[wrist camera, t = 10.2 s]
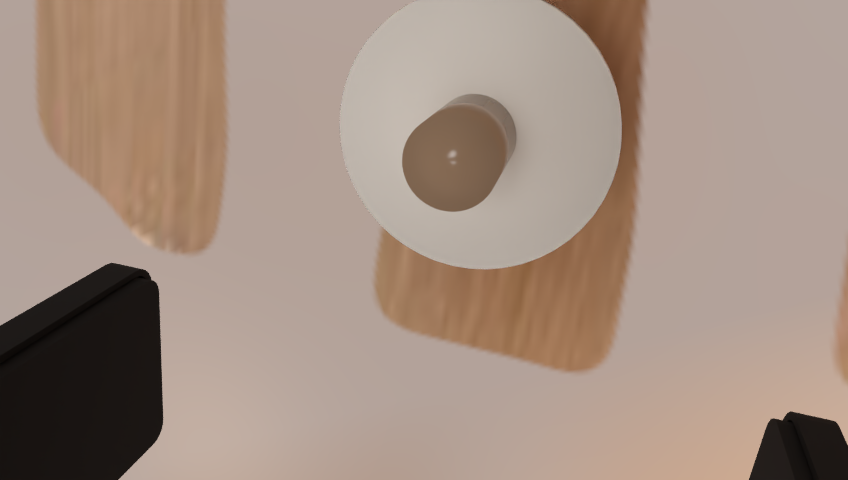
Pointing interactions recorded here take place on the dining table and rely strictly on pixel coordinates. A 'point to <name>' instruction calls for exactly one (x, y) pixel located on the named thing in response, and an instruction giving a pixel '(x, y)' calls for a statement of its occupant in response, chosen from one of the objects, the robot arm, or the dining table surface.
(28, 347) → the robot arm
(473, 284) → the dining table surface
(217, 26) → the dining table surface
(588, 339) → the dining table surface
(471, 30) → the lid
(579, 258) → the dining table surface
